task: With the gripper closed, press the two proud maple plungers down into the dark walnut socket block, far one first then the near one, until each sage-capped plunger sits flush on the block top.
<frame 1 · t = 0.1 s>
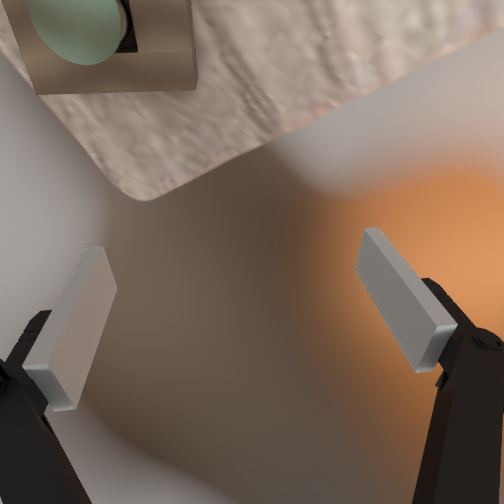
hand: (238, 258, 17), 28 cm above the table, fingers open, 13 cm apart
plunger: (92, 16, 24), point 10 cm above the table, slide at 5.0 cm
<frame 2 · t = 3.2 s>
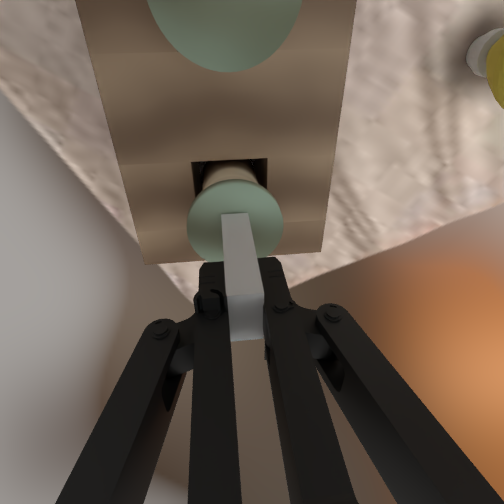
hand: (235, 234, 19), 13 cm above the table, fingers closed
olive oval ball: (479, 51, 26), on the table
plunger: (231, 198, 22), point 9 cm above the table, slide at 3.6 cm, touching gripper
socket block: (222, 87, 26), on the table
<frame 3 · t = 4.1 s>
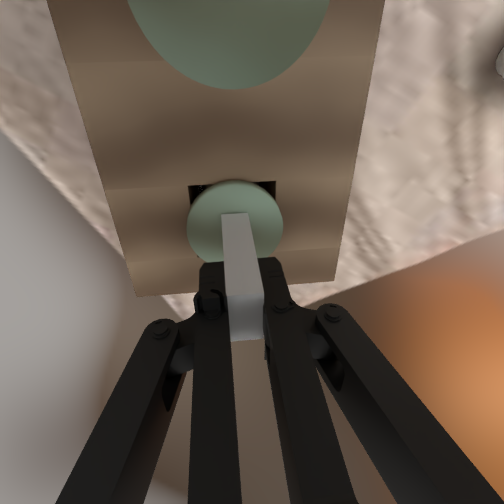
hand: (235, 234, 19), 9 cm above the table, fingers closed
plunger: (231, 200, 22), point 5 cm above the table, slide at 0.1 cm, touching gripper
socket block: (223, 97, 23), on the table
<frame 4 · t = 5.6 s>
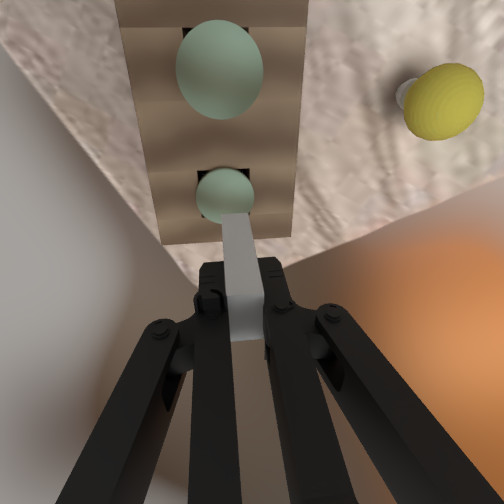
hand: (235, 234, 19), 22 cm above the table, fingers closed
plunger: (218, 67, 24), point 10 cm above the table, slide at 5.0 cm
olive oval ball: (404, 92, 36), on the table
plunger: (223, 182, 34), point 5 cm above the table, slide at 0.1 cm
socket block: (219, 117, 35), on the table
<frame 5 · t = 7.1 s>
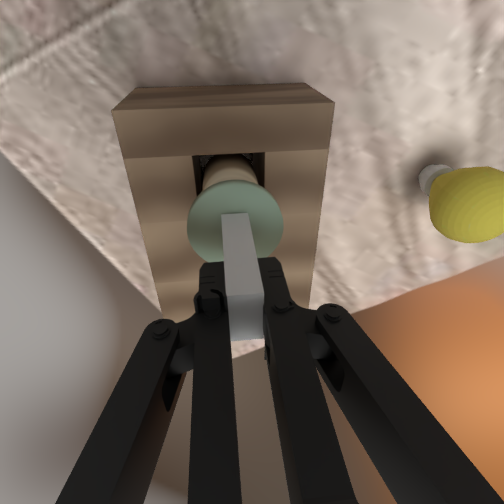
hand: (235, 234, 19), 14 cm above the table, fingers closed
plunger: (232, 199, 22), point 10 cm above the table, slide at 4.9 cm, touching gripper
olive oval ball: (428, 174, 34), on the table
socket block: (229, 204, 33), on the table
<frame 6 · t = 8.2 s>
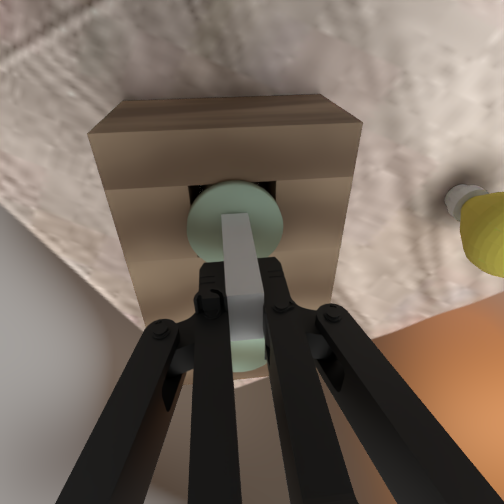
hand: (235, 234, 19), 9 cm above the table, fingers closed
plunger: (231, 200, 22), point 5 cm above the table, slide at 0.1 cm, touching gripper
olive oval ball: (456, 195, 30), on the table
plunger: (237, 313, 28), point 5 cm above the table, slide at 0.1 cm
socket block: (231, 229, 29), on the table
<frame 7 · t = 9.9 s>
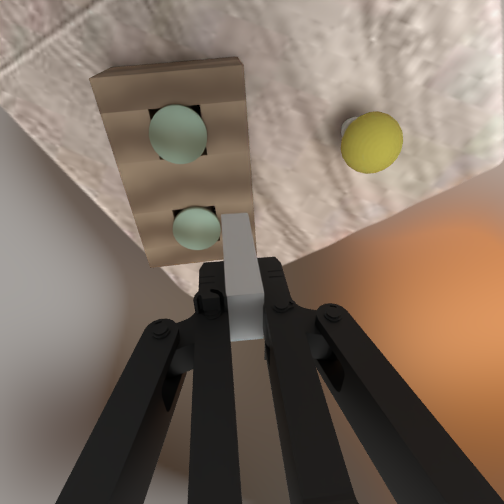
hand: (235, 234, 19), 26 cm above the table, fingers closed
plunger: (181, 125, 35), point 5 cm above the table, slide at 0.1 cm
olive oval ball: (349, 127, 42), on the table
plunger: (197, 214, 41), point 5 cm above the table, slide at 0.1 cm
socket block: (192, 158, 42), on the table
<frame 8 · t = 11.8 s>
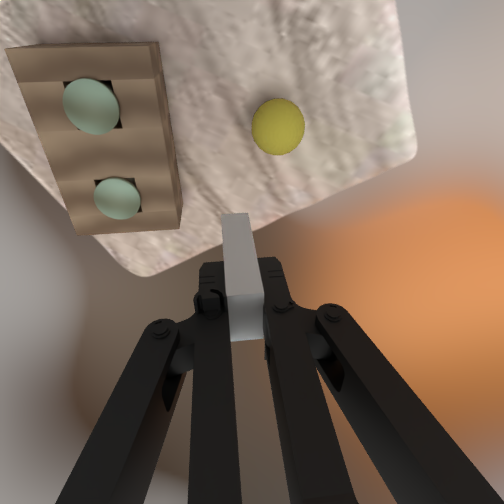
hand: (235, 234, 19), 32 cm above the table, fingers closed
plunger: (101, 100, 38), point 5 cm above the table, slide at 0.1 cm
olive oval ball: (269, 114, 46), on the table
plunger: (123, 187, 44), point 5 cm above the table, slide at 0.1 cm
socket block: (122, 136, 45), on the table
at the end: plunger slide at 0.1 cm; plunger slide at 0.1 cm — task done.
